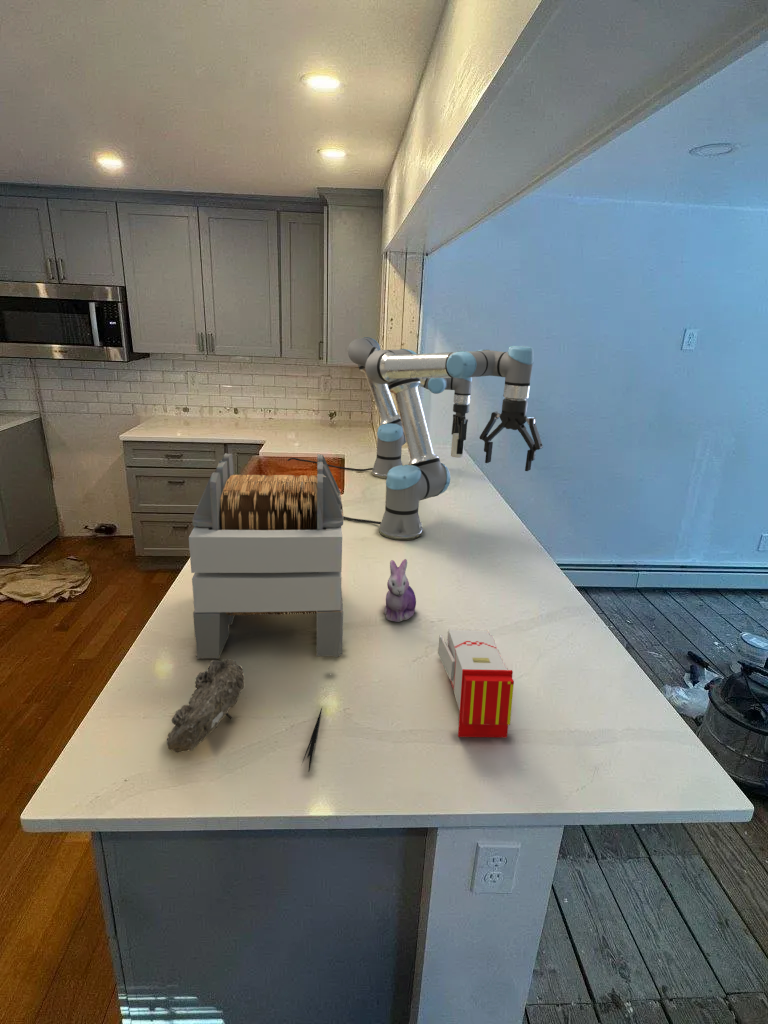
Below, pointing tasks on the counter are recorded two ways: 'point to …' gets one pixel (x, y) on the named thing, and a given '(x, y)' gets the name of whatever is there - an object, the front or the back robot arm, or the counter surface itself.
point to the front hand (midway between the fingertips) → (507, 466)
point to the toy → (478, 682)
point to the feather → (313, 740)
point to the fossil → (206, 705)
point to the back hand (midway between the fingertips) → (457, 452)
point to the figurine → (399, 594)
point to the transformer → (267, 553)
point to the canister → (455, 446)
